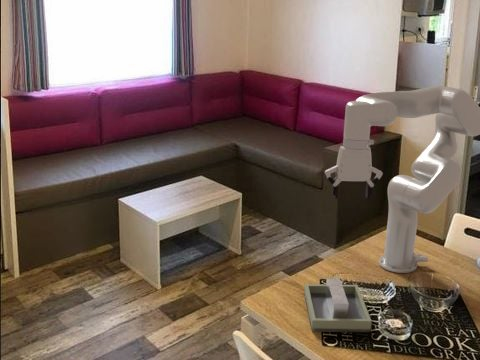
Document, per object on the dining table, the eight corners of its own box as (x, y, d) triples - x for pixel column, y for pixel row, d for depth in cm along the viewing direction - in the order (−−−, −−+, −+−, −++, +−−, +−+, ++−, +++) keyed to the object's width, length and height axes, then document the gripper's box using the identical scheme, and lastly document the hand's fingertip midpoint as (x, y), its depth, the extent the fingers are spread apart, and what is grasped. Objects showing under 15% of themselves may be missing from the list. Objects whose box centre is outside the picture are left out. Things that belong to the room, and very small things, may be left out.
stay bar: (338, 296, 171) (340, 279, 170) (346, 322, 158) (348, 303, 156) (325, 296, 171) (326, 278, 170) (332, 322, 158) (333, 303, 156)
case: (356, 295, 175) (357, 284, 173) (370, 332, 156) (371, 321, 155) (304, 294, 175) (304, 284, 173) (311, 331, 156) (312, 320, 154)
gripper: (382, 140, 172) (377, 194, 178) (324, 139, 172) (321, 193, 178) (388, 147, 165) (382, 202, 171) (328, 146, 165) (324, 201, 171)
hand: (351, 197), depth 174 cm, fingers open, 9 cm apart
